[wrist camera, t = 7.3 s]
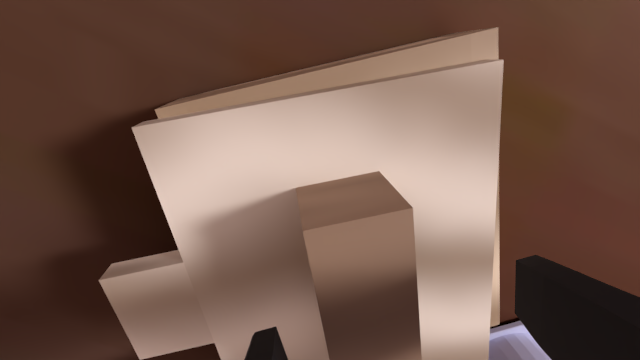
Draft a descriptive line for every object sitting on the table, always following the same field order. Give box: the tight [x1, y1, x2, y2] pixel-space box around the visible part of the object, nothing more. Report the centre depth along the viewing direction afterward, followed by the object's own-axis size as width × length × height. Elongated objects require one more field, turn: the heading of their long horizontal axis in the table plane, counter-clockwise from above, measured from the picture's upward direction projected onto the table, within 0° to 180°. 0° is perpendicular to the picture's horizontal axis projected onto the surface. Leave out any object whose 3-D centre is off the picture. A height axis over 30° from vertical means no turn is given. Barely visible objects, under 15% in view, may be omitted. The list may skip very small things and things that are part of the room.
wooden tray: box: [155, 27, 500, 327], centre depth 15 cm, size 14×12×3 cm
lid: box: [99, 59, 504, 360], centre depth 12 cm, size 14×15×4 cm
